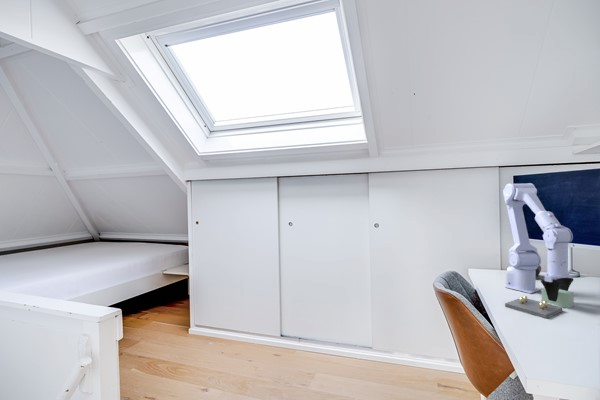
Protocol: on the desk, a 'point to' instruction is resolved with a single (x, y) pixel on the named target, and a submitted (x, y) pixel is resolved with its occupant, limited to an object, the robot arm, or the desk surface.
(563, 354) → the desk surface
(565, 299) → the board block
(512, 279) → the robot arm
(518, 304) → the plate
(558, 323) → the desk surface
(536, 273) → the end cap
